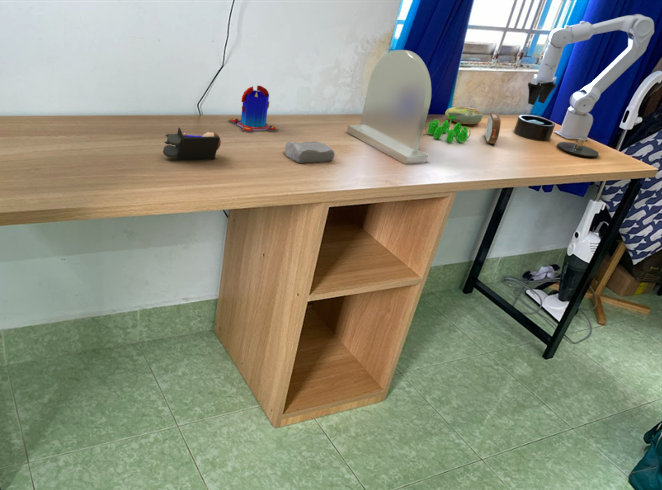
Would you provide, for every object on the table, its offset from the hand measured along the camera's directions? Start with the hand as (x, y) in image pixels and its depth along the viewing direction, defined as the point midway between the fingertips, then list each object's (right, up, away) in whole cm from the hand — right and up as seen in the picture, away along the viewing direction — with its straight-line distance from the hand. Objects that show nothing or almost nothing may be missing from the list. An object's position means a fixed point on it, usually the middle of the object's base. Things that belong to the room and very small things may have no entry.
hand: (535, 103), depth 225 cm
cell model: (-27, -7, 0) cm, 28 cm away
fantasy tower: (-102, -19, -38) cm, 110 cm away
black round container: (-2, -12, -2) cm, 13 cm away
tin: (-23, -18, -16) cm, 33 cm away
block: (-2, -12, -3) cm, 12 cm away
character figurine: (-116, -36, -68) cm, 139 cm away
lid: (+9, -20, -14) cm, 26 cm away
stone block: (-86, -33, -55) cm, 107 cm away
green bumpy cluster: (-38, -18, -20) cm, 47 cm away
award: (-61, -26, -38) cm, 77 cm away
